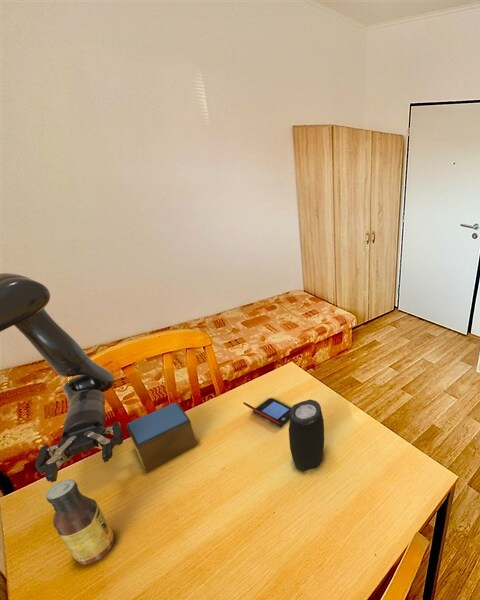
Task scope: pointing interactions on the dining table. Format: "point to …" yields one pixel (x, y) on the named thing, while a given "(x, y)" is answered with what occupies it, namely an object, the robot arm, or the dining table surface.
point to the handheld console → (273, 411)
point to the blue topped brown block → (165, 445)
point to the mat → (157, 423)
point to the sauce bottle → (79, 522)
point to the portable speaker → (306, 434)
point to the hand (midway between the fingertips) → (79, 469)
